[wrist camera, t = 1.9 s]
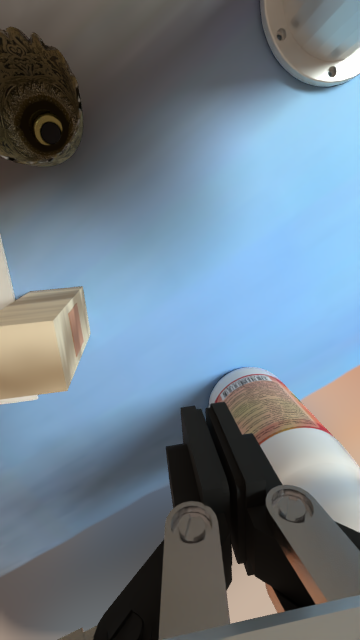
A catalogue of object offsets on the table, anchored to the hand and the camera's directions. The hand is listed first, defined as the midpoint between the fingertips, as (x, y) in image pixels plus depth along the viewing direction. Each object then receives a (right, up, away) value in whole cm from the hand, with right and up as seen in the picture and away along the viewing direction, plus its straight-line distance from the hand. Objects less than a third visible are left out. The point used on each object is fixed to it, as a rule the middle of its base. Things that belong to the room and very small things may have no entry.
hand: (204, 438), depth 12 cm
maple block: (-13, +5, +20) cm, 24 cm away
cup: (-12, +21, +16) cm, 29 cm away
